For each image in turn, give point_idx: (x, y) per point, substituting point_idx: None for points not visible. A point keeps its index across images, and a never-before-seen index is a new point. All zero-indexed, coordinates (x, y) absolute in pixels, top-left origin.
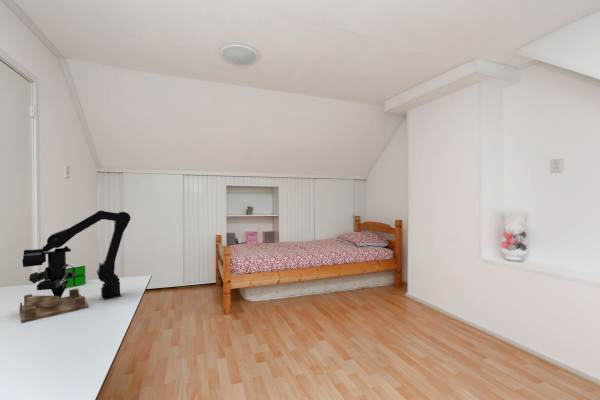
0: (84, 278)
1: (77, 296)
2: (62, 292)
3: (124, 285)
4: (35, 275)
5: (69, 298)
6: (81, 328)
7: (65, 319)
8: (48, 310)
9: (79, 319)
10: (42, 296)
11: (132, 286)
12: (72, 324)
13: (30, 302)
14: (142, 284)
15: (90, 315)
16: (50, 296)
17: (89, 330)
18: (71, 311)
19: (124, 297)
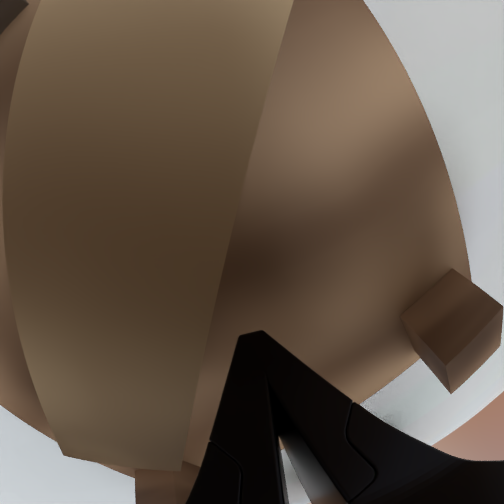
0: None
1: (413, 347)
2: (293, 466)
3: (496, 375)
4: None
5: (392, 315)
6: (2, 484)
7: (15, 450)
8: (21, 361)
9: (39, 479)
10: (143, 196)
11: (461, 414)
12: (3, 470)
13: None
14: (461, 424)
15: (83, 494)
16: (136, 400)
17: (6, 493)
18: None
19: None
